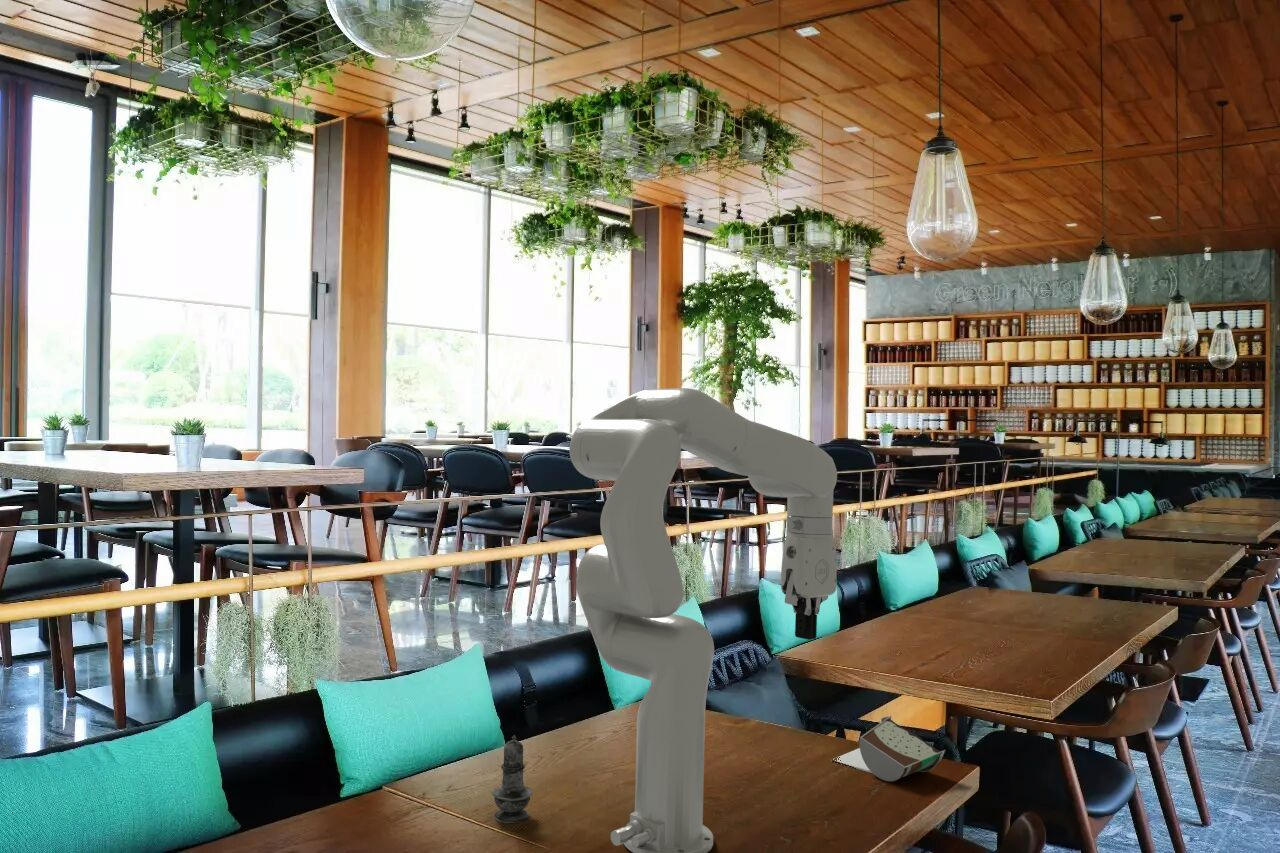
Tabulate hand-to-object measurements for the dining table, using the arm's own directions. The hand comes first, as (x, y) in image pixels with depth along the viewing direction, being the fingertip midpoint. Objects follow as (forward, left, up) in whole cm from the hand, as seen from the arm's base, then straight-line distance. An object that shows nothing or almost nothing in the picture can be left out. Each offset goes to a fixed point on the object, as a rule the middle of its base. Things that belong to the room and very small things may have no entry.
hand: (805, 637), depth 156 cm
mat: (+18, -3, -24) cm, 30 cm away
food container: (+11, -8, -22) cm, 26 cm away
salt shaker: (-44, +22, -24) cm, 55 cm away
